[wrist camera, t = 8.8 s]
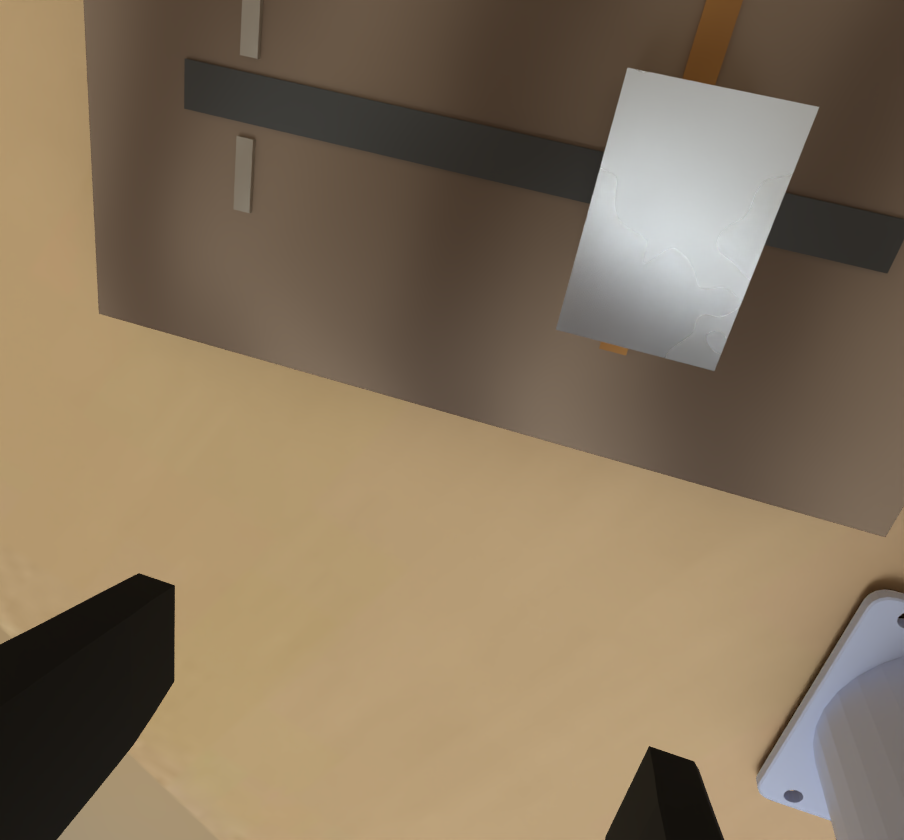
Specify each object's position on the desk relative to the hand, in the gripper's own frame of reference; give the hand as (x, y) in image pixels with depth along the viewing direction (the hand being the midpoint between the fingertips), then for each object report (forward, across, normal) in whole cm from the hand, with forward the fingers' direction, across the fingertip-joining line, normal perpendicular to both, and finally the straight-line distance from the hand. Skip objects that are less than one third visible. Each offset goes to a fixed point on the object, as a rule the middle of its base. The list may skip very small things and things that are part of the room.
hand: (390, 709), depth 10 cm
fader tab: (+8, -2, -7) cm, 11 cm away
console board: (+9, +1, -7) cm, 12 cm away
